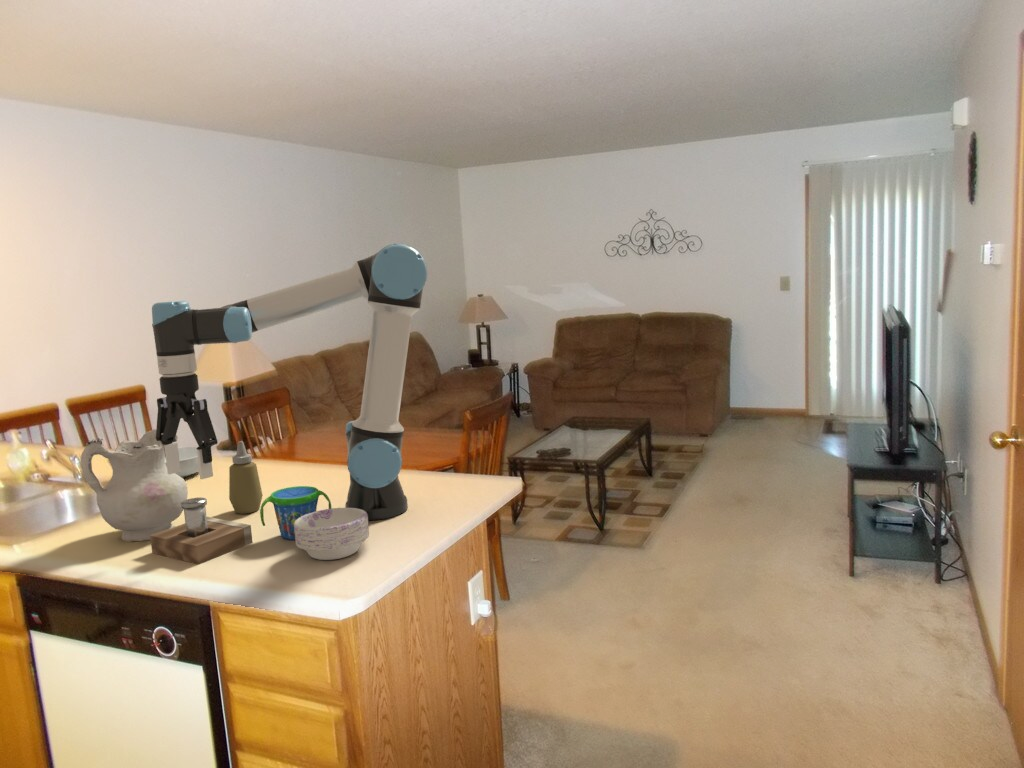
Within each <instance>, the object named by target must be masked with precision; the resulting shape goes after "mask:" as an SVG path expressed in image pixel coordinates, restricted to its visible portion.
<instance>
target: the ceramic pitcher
mask: <svg viewBox="0 0 1024 768" xmlns="http://www.w3.org/2000/svg"><path fill="white" fill-rule="evenodd" d="M162 434H163V433H162ZM162 434H161V435H162ZM175 439H176V440H177V441H178V439H179V438H178V434H177V433H176V437H175ZM103 441H104V439H103V438H99V437H98V438H96V439H93V438H92V440H88V441H87V442H85V444H86V446H85V447H84V449H83V450H82V452H81V455H80V467H81V469H82V470H81V471H82V475H83V477H84V479H85V480H86V482H87V484H88V485H89V487H90V488H91V489H92V490H93V491H94V493H95V494H96V504H97V507H98V509H99V512H100V513H99V514H100V515H101V517H102V519H103V521H104V522H105V523H107V524H108V525H109V526H110V527H111V528H113V529H115V530H119V531H123V532H122V534H121V535H120V537H119V539H120V540H122V541H124V542H127V543H130V542H143V541H146V542H147V541H151V540H150V535H153V534H156V533H159V532H162V531H165V530H168V529H170V528H173V527H176V526H175V525H173V524H172V522H174V521H175V520H177V519H178V518H179V517H180V516H181V515H182V513H183V512H184V509H183V508H181V502H182V501H184V500H187V499H188V494H189V493H188V486H187V482H186V481H185V479H184V478H181V477H180V476H178V475H177V474H175V473H173V474H168V472H167V467H166V464H165V451H164V445H163V444H162V443H161V441H157V440H156V428H155V429H154V428H153V429H151V430H149V431H146V432H145V433H144V434H143V435H142V437H141V438H140V439H139V440H133V441H131V440H127V439H126V440H123V441H121V442H119V444H118V446H117V447H116V448H115V450H111V449H108V448H107V447H106V446H105V444H104V443H103ZM96 455H97V456H98V455H100V456H102V457H103V458H104V459H108V461H109V463H110V466H111V469H112V474H111V477H110V480H109V481H108V482H107V483H106V484H105V485H103V486H102V485H101V483H100V480H99V479H98V478H97V476H96V474H95V473H94V471H93V467H92V466H93V465H92V460H93V457H94V456H96Z"/></svg>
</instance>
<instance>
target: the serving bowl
mask: <svg viewBox="0 0 1024 768" xmlns="http://www.w3.org/2000/svg"><path fill="white" fill-rule="evenodd" d="M197 447H199V446H196V445H195V446H193V445H192V446H178V453H179V461H180V470H181V472H177V473H175V474H177V475H178V476H180V477H181V478H183V479H184V478H186V477H189V476H192V475H194V474H196V473H198V472H199V465H198V456H197ZM165 464H166V457H165ZM166 467H167V464H166Z"/></svg>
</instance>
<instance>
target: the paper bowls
mask: <svg viewBox="0 0 1024 768" xmlns="http://www.w3.org/2000/svg"><path fill="white" fill-rule="evenodd" d="M331 508H332V509H329V508H328V509H327V508H326V509H325V508H324V509H320V510H316V512H312V513H309V514H306V515H303V516H301V517H300V518H298V519H297V520H296V521H295V522H294V530H295V539H294V540H295V541H294V542H295V545H296V547H297V548H299V549H300V550H304V551H306V552H307V554H308V555H309V557H311V558H313V559H315V560H320V561H332V560H333V561H334V560H340V559H343V558H347V557H350V556H352V555H353V554H355V553H356V552H357V551H358V550H359V548H360V546H361V543H363V542H364V541H366V540H367V539H368V538H369V537H370V528H369V527H370V526H369V520H368V515H367V513H366V512H365V511H364V510H361V509H357V508H345V507H331Z"/></svg>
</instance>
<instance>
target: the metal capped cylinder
mask: <svg viewBox="0 0 1024 768" xmlns="http://www.w3.org/2000/svg"><path fill="white" fill-rule="evenodd" d="M207 501H208V500H207V498H206V497H191V498H187V500H184V501H182V502H181V508H183V509H184V510H183V515H184V522H185V523H184V524H186V532H187V536H188V537H192V538H195V537H198V536H200V535H203V534H206V533H208V525H207V517H208V516H207V508H206V506H207V504H208V502H207Z"/></svg>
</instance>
